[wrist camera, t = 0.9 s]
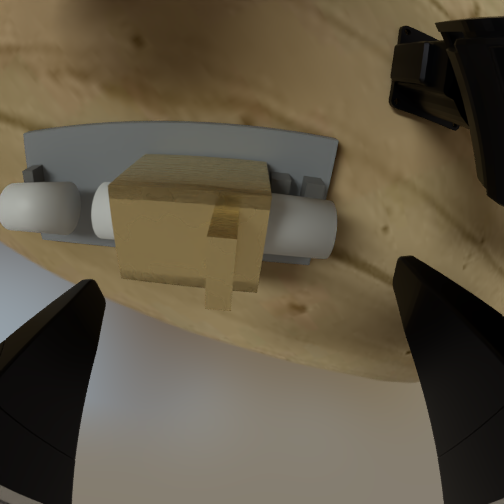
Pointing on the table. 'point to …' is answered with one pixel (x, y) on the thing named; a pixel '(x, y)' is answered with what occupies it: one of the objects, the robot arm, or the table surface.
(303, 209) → the pipe run
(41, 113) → the table surface
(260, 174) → the coupling
